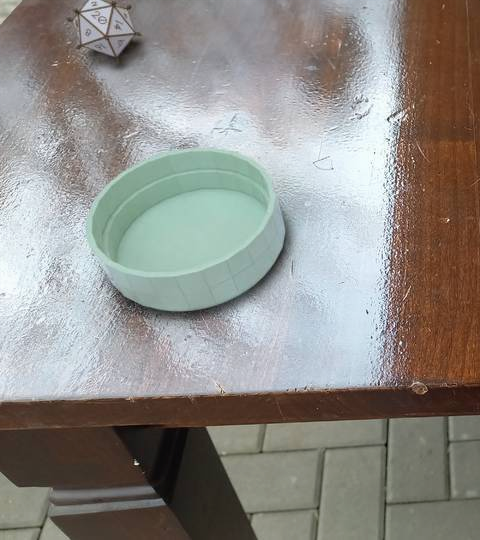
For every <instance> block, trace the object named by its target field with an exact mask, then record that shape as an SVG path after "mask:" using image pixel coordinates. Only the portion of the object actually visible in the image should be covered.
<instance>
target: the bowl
mask: <svg viewBox="0 0 480 540" xmlns="http://www.w3.org/2000/svg"><path fill="white" fill-rule="evenodd" d="M275 187H276V186H275V183H274V180H272V178H271V176H270V175H269V173H268V171H266V169H265V167H263V166H262V165H260V164H259V163H258V162H256V161H255V160H254V159H252V158H251V157H249V156H246V155H245V154H242V153H239V152H236V151H234V150H230V149H224V148H217V147H187V148H182V149H176V150H170V151H165V152H163V153H161V154H157V155H154V156H152V157H151V156H150V157H149V158H146V159H143V160H142V161H140V162H137V163H135V164H133V165H132V166H130V167H128V168H127V169H125V170H123V171H122V172H121V173H119V174H118V175H117V176H115V177H114V178H113V179H112V180H111V181H109V182H108V183H107V184H105V186H104V188H102V190H101V191H100V192H99V193H98V194H97V196H96V197H95V198H94V200H93V201H92V203H91V206H90V208H89V211H88V213H87V215H86V218H85V219H86V220H85V234H84V235H85V237H86V240H87V243H88V245H89V247H90V250H91V252H92V253H93V255H94V257H95V259H96V260H97V262H98V263H99V265H100V266H101V268H102V270H103V271H104V273H105V274H106V276H107V277H108V280H109V281H110V283H111V284H112V286H114V287H115V288H116V289H117V291H119V293H121V294H122V295H123V296H124V297H125V298H127V299H129V300H131V301H133V302H135V303H137V304H139V305H140V306H143V307H147V308H151V309H155V310H160V311H167V312H190V311H191V312H193V311H199V310H203V309H208V308H211V307H215V306H219V305H221V304H223V303H226V302H229V301H231V300H233V299H235V298H237V297H239V296H241V295H243V294H244V293H246V292H247V291H249V290H250V289H252V287H254V286H255V285H257V284H258V283H259V282H260V281H261V280H262V279H263V278H264V277H265V276H266V275H267V274H268V273H269V271H270V270H271V269H272V267H273V266H274V264H275V262H276V261H277V259H278V257H279V255H280V253H281V251H282V249H283V247H284V243H285V242H284V241H285V236H286V226H285V221H284V215H283V213H282V208H281V206H280V202H279V199H278V198H279V197H278V195H277V192H276V188H275Z"/></svg>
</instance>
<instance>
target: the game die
mask: <svg viewBox="0 0 480 540" xmlns="http://www.w3.org/2000/svg"><path fill="white" fill-rule="evenodd" d="M132 7H133V6H132V4H128V5H127V6H126V7H124V6H122V5H120V4H117V1H116V0H111V1H110V0H86V1H85V2H84V4H83V5H82V6H81V7H80V9H78V8H72V11H73V13H74V14H75V15H74V16H73V18H72V17H66V18H65V20H66V21H68V22H69V23H72V24H73V27H74V30H75V33H76V36H77V39H78V42H79V44H77V45H75V47H76V48H75V50H81V49H82V48H84V49H85V48H86V49H89V50H91V51H93V52H94V53H95V52H97V53H99V54H104V55H106V56H109V57H111V58H114V61H115V62H116V63H117V64H120V61H121V60H120V58H119V57H120V55H121V54H122V53H123V51H124V50H125V49H126V48H127V46H128V45H129V44H134V38H135V37H136V36H137V37H141V36H143V33H141V31H136V28H135V25H134V23H133V21H132V18H131V15H130V12H129V10H131V9H132Z"/></svg>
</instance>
